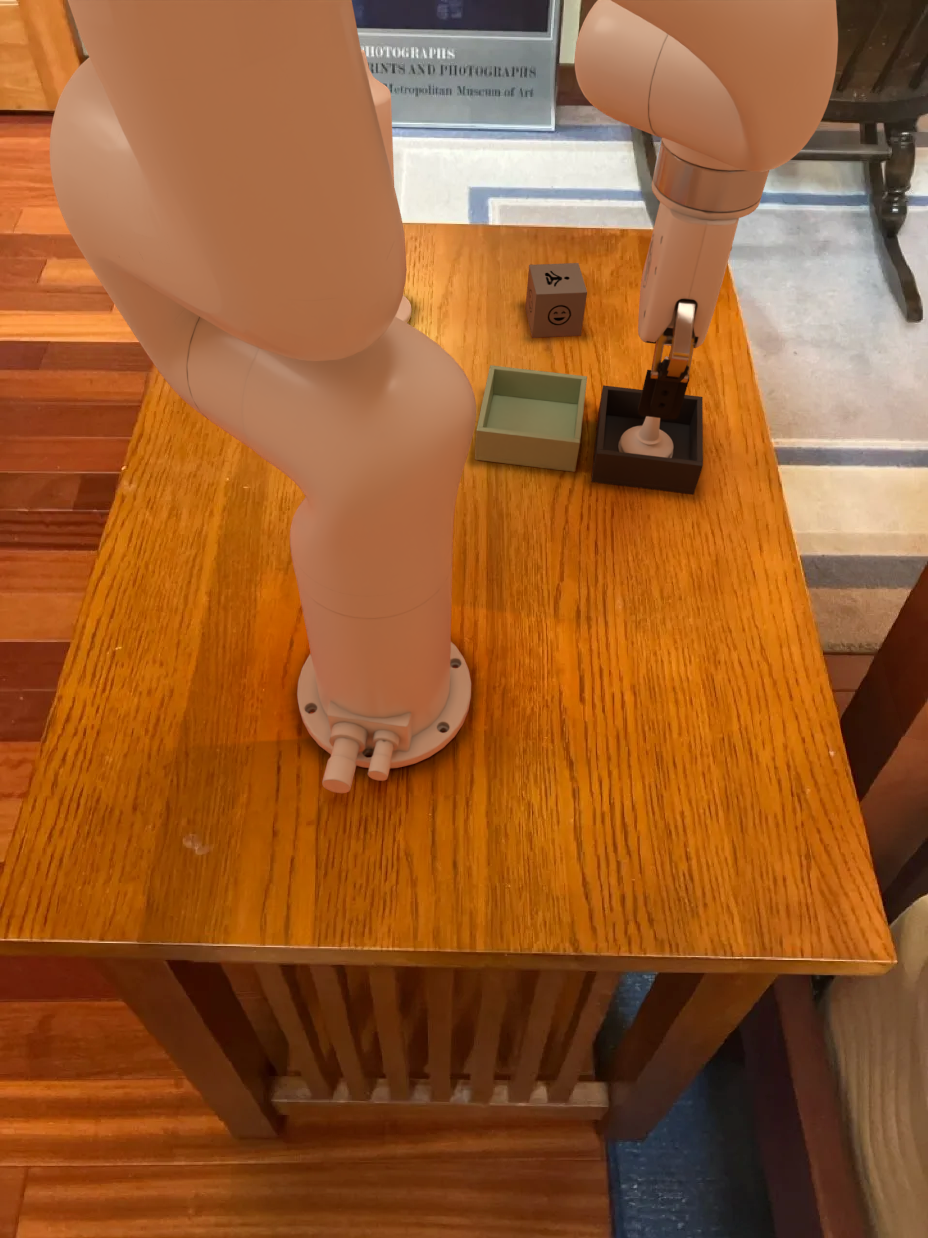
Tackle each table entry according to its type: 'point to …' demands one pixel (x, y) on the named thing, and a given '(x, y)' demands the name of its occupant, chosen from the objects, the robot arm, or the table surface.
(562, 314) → the dice cube
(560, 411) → the sage bin
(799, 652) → the table surface
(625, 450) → the chess piece
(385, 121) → the candle
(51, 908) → the table surface
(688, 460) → the charcoal bin
